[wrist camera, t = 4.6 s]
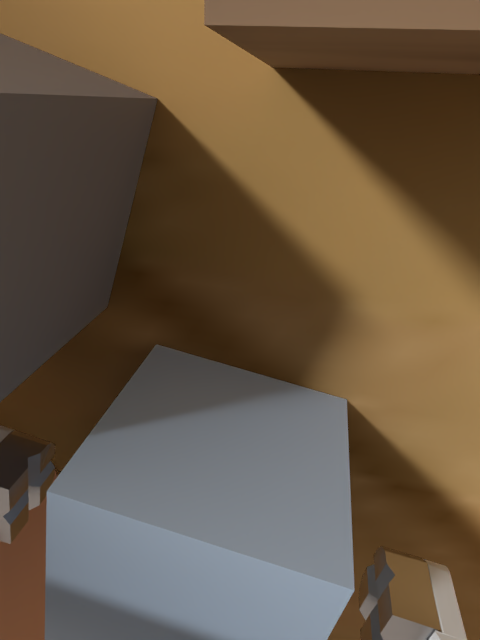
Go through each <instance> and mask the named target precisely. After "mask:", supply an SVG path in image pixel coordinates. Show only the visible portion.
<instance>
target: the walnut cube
mask: <svg viewBox="0 0 480 640" xmlns="http://www.w3.org/2000/svg"><path fill="white" fill-rule="evenodd" d="M205 26H207V27H209V28H210V29H212V30H213V31H215V32H217V33H218V34H220V35H221V36H223V37H225V38H226V39H228V40H229V41H231V42H233V43H234V44H236V45H237V46H239V47H241V48H242V49H244V50H246V51H247V52H249V53H250V54H252V55H254V56H255V57H257V58H258V59H260V60H262V61H263V62H265V63H266V64H268V65H270V66H271V67H273V68H302V69H332V70H362V71H392V72H422V73H453V74H480V0H205Z"/></svg>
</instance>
